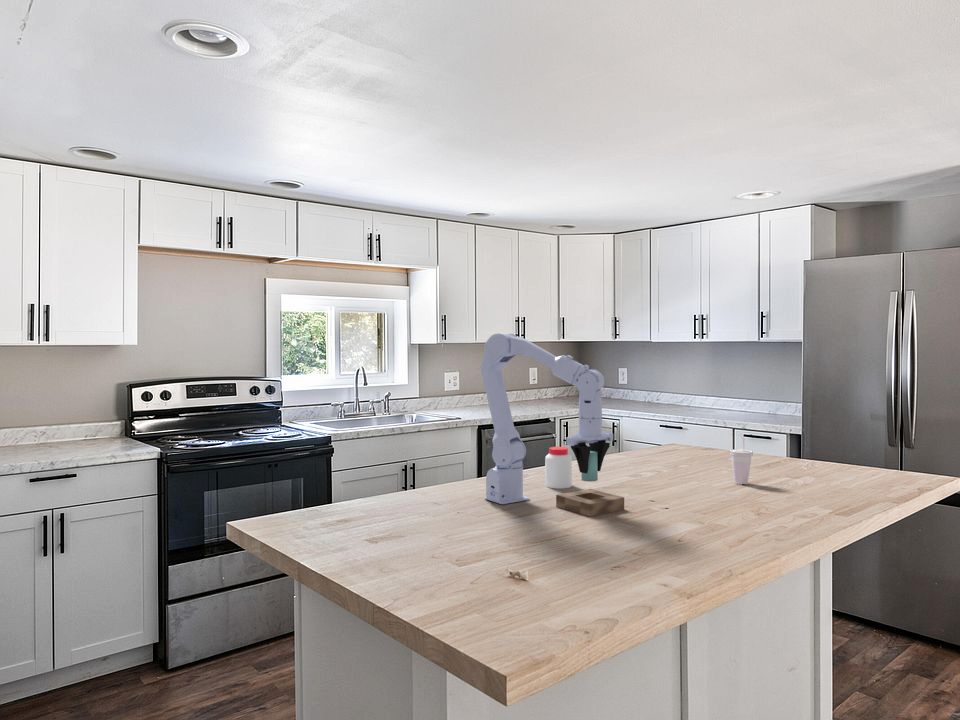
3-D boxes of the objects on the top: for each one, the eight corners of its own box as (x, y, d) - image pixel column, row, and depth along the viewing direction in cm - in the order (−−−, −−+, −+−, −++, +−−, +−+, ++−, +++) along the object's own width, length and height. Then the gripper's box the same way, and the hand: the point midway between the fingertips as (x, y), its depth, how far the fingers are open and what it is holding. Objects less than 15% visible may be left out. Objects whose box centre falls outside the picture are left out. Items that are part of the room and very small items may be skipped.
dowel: (588, 482, 167) (588, 454, 166) (578, 479, 170) (578, 451, 170) (600, 480, 169) (600, 452, 168) (590, 477, 172) (590, 450, 172)
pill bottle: (563, 489, 190) (563, 451, 190) (540, 486, 195) (540, 448, 194) (576, 485, 196) (576, 447, 196) (553, 481, 201) (553, 445, 200)
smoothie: (756, 485, 195) (756, 437, 195) (733, 485, 195) (734, 437, 195) (747, 481, 201) (748, 434, 201) (726, 481, 201) (726, 434, 201)
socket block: (589, 516, 161) (589, 504, 161) (556, 506, 171) (556, 494, 171) (624, 509, 168) (624, 497, 168) (590, 500, 178) (590, 488, 178)
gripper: (580, 421, 161) (580, 477, 162) (622, 417, 170) (621, 470, 170) (560, 418, 167) (560, 472, 167) (601, 414, 175) (601, 466, 176)
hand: (590, 471), depth 169 cm, fingers closed on dowel, 4 cm apart
